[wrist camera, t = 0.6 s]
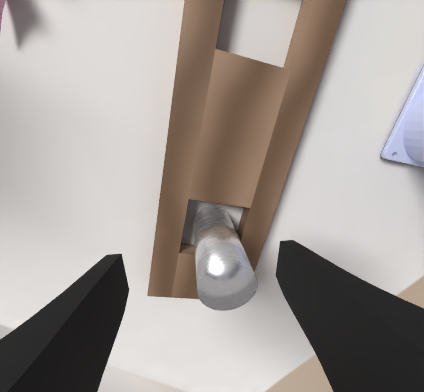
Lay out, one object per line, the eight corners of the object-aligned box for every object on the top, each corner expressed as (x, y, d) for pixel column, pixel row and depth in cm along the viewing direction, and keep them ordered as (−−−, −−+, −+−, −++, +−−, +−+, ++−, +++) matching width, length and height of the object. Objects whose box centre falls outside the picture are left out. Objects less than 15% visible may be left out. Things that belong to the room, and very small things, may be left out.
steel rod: (234, 208, 19) (264, 266, 12) (225, 240, 20) (248, 311, 13) (196, 203, 18) (203, 260, 11) (190, 236, 20) (192, 308, 12)
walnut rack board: (371, -114, 12) (395, -143, 11) (240, 290, 23) (244, 301, 22) (211, -196, 10) (215, -243, 9) (149, 284, 21) (147, 295, 20)
